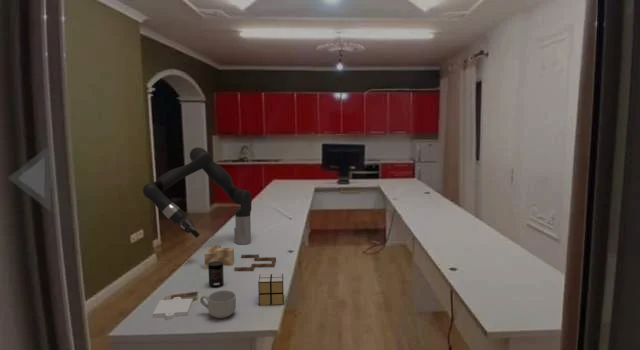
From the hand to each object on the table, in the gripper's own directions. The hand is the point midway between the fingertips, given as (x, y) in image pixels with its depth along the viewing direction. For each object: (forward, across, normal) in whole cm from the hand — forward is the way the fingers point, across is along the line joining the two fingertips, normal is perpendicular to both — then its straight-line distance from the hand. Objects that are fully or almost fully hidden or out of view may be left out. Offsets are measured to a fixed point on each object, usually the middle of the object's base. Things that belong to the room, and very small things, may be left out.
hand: (198, 236), depth 227 cm
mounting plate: (+14, -56, +8) cm, 59 cm away
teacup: (+27, -62, -5) cm, 68 cm away
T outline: (+32, 0, -11) cm, 34 cm away
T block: (+19, 0, +3) cm, 19 cm away
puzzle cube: (+41, -48, -19) cm, 66 cm away
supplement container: (+22, -31, 0) cm, 38 cm away
